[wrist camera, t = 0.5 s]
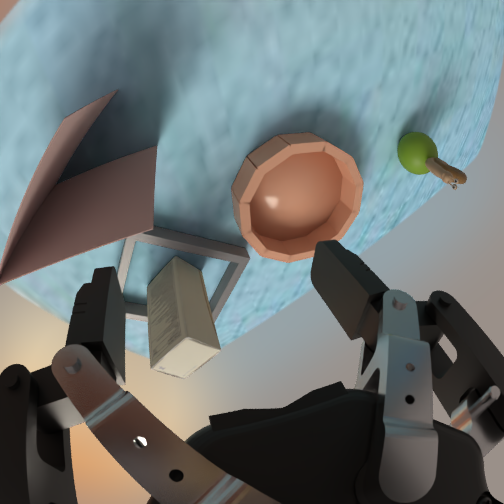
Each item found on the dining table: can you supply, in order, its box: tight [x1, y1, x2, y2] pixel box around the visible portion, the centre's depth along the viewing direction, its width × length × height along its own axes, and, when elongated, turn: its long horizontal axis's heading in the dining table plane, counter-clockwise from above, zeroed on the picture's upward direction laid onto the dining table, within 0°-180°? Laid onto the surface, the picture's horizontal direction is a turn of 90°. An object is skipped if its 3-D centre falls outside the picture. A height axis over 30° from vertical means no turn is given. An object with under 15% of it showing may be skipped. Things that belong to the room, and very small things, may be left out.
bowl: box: [231, 132, 363, 263], centre depth 31 cm, size 14×14×4 cm
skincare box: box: [147, 256, 221, 379], centre depth 30 cm, size 6×4×12 cm
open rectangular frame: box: [117, 226, 250, 323], centre depth 34 cm, size 13×14×2 cm
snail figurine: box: [397, 132, 467, 190], centre depth 27 cm, size 5×6×12 cm
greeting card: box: [0, 90, 157, 285], centre depth 17 cm, size 11×7×15 cm, turn 99°
